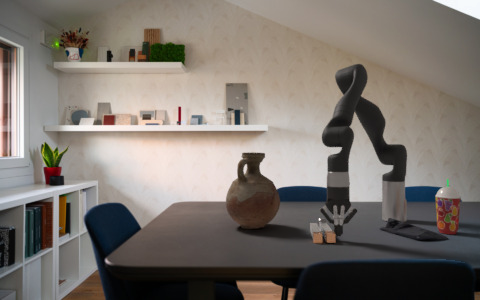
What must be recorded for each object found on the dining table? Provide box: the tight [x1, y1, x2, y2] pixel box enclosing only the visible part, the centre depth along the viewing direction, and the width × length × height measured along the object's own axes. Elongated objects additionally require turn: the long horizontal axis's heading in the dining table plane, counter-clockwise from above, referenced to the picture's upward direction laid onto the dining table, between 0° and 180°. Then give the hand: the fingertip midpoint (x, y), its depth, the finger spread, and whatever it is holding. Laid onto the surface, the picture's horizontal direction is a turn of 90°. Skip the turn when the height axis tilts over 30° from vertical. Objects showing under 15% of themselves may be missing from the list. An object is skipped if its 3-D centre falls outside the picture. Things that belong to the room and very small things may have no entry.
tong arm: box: [319, 222, 336, 244], centre depth 134 cm, size 19×3×3 cm, turn 176°
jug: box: [225, 151, 281, 230], centre depth 151 cm, size 22×22×30 cm
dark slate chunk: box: [379, 218, 449, 241], centre depth 139 cm, size 15×22×5 cm
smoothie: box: [434, 178, 462, 235], centre depth 141 cm, size 8×8×20 cm
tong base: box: [309, 217, 327, 244], centre depth 136 cm, size 22×6×4 cm, turn 173°
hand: (338, 235), depth 129 cm, fingers closed
